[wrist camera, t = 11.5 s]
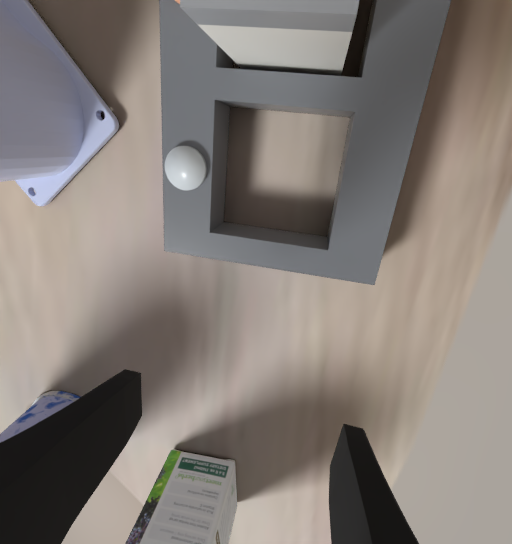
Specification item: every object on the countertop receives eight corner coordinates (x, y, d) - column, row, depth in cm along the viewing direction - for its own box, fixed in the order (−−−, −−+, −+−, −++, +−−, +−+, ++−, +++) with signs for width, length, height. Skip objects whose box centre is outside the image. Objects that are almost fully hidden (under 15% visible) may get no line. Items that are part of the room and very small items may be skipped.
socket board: (185, -132, 13) (150, -201, 10) (470, -140, 11) (514, -224, 9) (183, 238, 19) (161, 252, 16) (367, 267, 17) (375, 287, 15)
